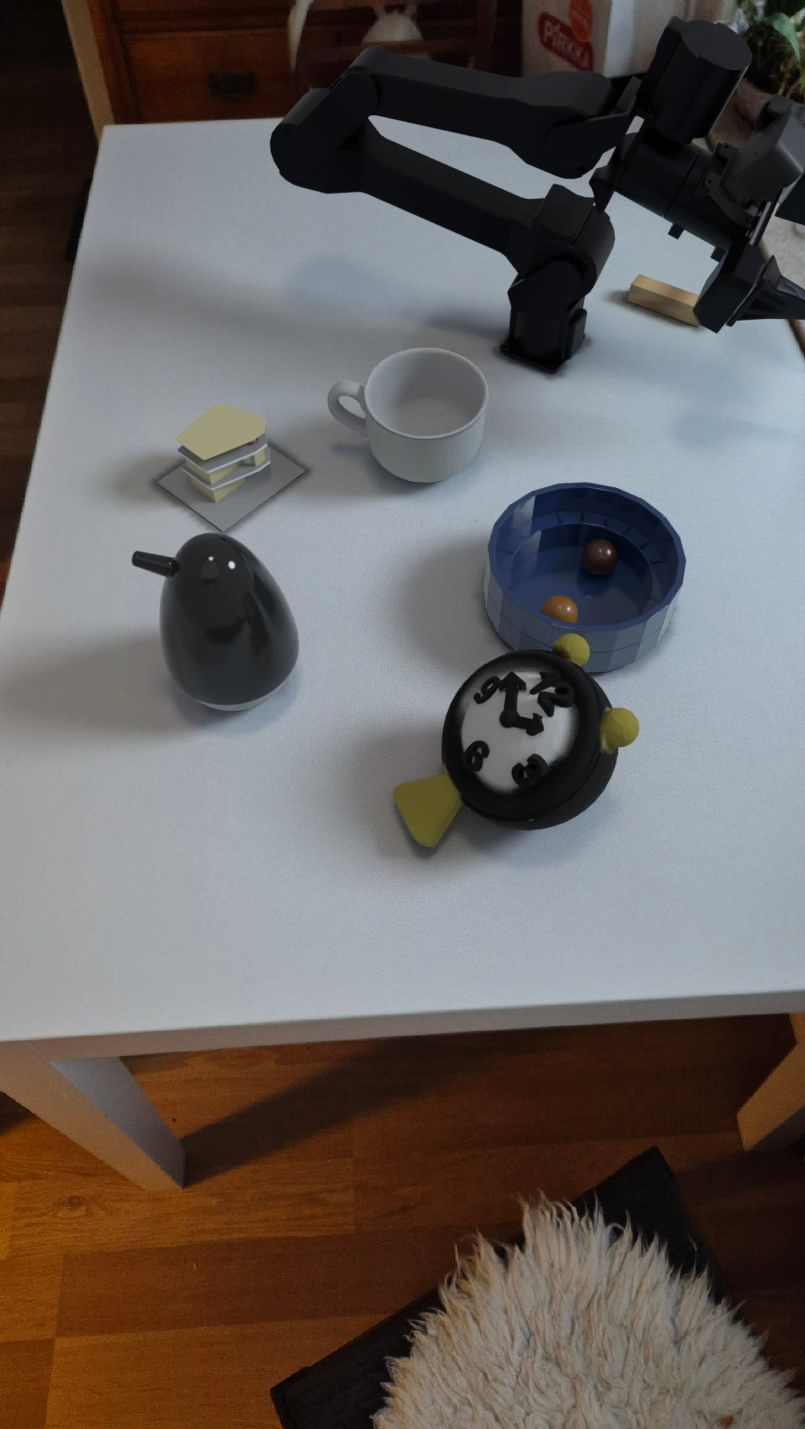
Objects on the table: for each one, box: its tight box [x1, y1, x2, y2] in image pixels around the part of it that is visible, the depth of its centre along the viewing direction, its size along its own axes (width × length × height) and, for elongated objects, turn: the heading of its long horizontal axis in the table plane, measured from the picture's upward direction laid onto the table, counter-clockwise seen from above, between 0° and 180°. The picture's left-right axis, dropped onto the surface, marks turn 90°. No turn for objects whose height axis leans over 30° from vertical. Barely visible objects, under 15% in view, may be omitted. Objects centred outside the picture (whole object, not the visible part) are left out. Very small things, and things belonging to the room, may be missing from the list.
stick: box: [627, 273, 701, 328], centre depth 103 cm, size 8×2×2 cm, turn 57°
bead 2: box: [581, 539, 618, 576], centre depth 83 cm, size 3×3×3 cm
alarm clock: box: [392, 633, 640, 848], centre depth 70 cm, size 12×15×15 cm
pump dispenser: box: [130, 532, 300, 712], centre depth 73 cm, size 10×10×15 cm
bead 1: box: [540, 595, 578, 624], centre depth 80 cm, size 3×3×3 cm
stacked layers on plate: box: [157, 403, 306, 533], centre depth 89 cm, size 10×9×6 cm
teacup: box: [326, 346, 489, 483], centre depth 89 cm, size 14×11×8 cm
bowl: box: [483, 481, 687, 673], centre depth 81 cm, size 15×15×6 cm
